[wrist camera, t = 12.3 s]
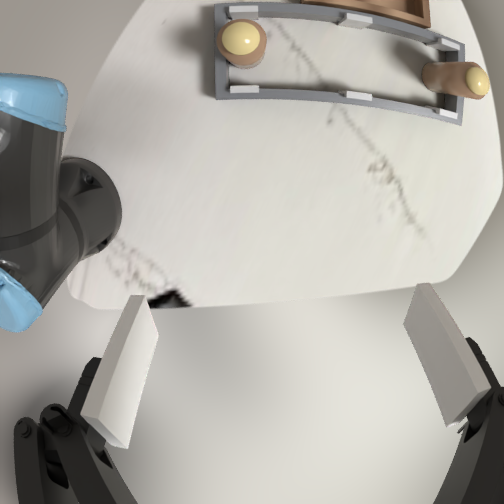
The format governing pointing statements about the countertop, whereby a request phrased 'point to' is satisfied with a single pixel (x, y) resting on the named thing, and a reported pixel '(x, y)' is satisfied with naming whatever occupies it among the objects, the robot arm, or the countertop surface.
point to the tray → (384, 9)
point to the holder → (343, 18)
